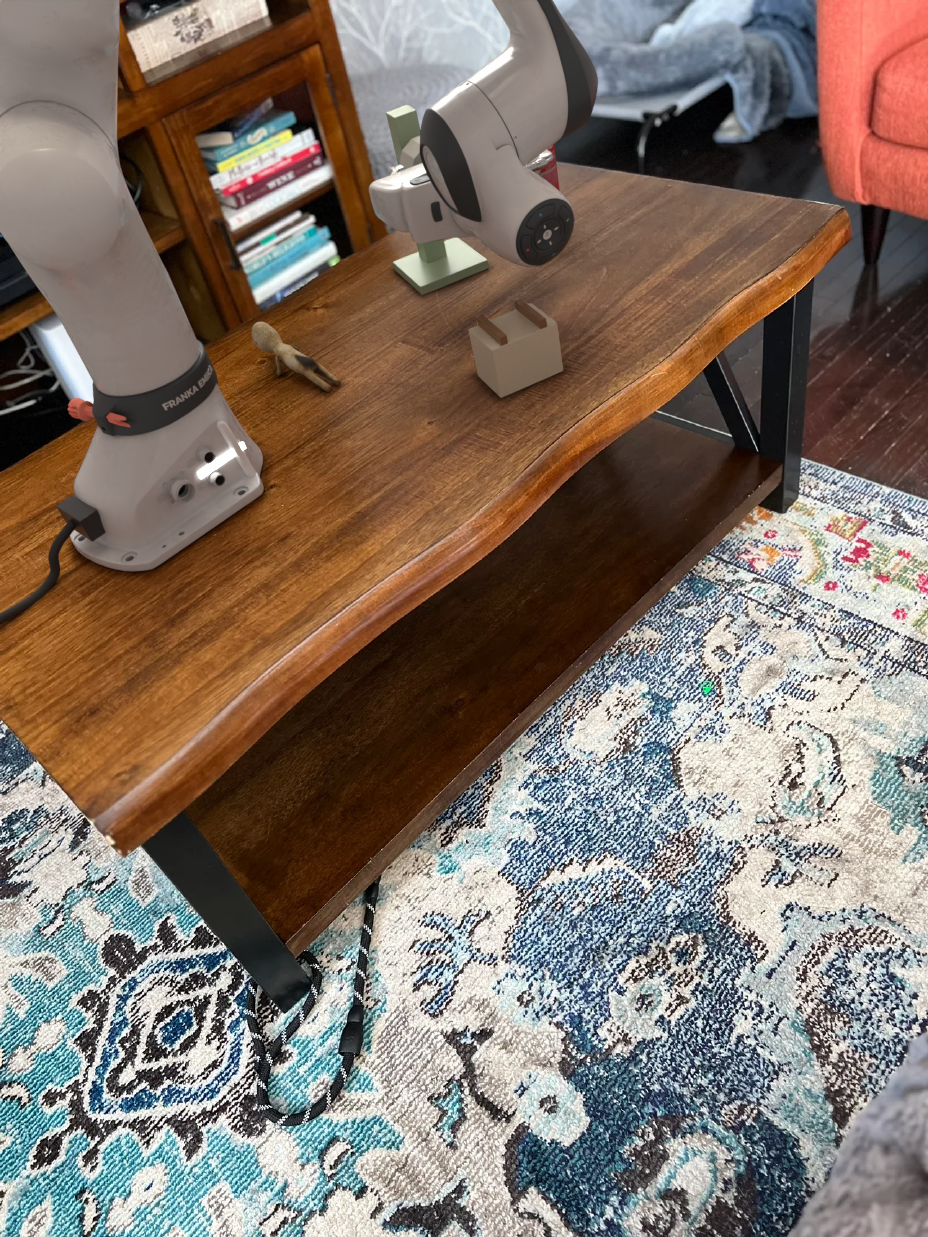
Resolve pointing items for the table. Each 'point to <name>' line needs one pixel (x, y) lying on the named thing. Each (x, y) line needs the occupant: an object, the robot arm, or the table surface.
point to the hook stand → (436, 258)
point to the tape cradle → (516, 348)
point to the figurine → (290, 356)
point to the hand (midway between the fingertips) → (429, 158)
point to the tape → (411, 153)
